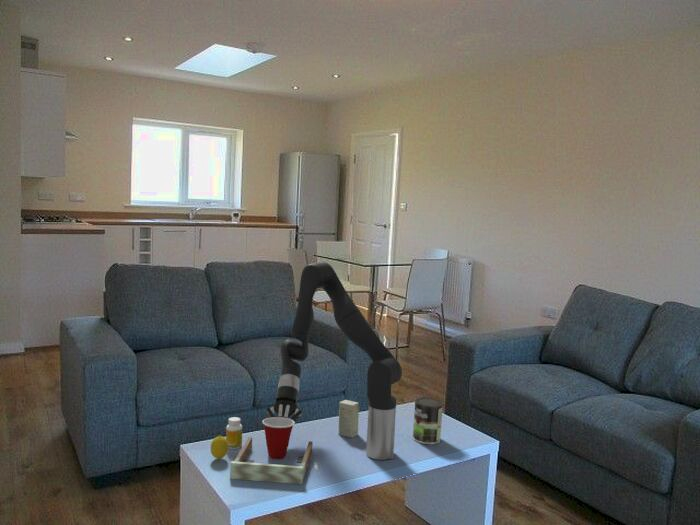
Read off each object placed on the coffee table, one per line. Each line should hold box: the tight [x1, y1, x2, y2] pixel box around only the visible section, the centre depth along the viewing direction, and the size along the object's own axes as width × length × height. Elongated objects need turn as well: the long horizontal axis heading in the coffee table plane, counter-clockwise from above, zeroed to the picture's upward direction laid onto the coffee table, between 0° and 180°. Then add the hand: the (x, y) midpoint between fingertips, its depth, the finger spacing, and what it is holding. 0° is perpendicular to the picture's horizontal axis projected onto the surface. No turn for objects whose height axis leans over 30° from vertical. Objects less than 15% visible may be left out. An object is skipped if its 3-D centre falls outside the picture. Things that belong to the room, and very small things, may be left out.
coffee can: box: [412, 396, 444, 445], centre depth 221 cm, size 10×10×14 cm
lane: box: [229, 436, 314, 485], centre depth 194 cm, size 22×24×5 cm
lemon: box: [210, 435, 229, 461], centre depth 196 cm, size 6×6×8 cm
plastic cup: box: [261, 416, 296, 460], centre depth 201 cm, size 11×11×12 cm
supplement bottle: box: [225, 416, 243, 450], centre depth 206 cm, size 5×5×10 cm
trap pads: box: [243, 455, 304, 464], centre depth 196 cm, size 22×6×1 cm, turn 106°
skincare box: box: [338, 399, 360, 439], centre depth 222 cm, size 6×4×12 cm
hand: (280, 435), depth 205 cm, fingers closed
